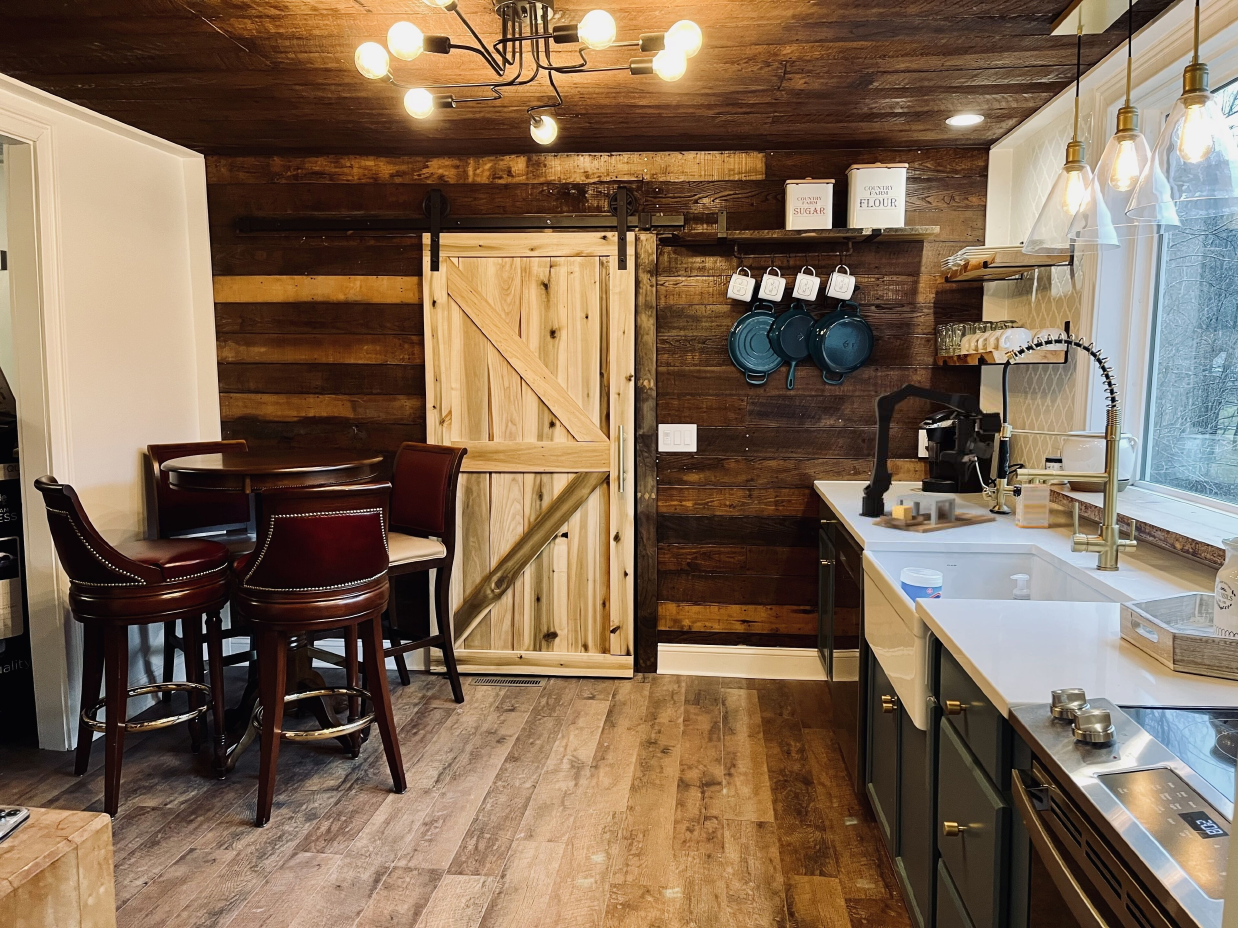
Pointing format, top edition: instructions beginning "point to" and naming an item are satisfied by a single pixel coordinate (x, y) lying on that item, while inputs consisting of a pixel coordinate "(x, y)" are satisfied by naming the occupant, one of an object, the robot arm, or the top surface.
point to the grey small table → (934, 507)
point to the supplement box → (1033, 506)
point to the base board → (940, 522)
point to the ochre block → (902, 512)
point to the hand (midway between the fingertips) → (964, 481)
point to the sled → (916, 517)
